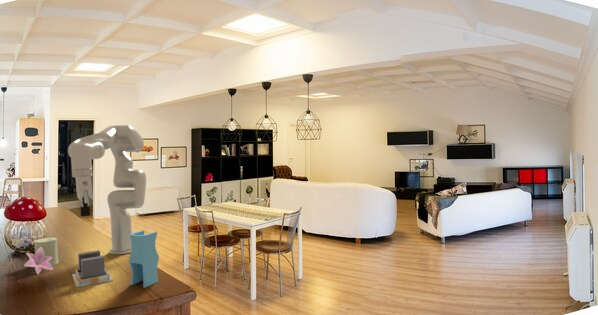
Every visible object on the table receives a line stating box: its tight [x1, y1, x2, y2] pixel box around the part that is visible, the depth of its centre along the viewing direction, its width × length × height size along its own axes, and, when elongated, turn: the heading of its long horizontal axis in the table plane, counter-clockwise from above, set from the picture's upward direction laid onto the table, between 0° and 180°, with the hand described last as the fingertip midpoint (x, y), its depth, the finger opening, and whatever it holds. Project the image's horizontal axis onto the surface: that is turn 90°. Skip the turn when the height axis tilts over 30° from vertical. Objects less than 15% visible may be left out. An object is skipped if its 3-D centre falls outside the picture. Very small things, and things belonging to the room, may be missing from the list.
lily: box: [23, 247, 54, 275], centre depth 180 cm, size 12×12×10 cm
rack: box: [71, 249, 114, 289], centre depth 169 cm, size 13×18×10 cm
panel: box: [81, 255, 105, 279], centre depth 165 cm, size 8×3×9 cm, turn 124°
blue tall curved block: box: [128, 230, 160, 289], centre depth 161 cm, size 8×8×20 cm
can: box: [33, 237, 59, 266], centre depth 191 cm, size 9×9×12 cm
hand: (85, 215), depth 173 cm, fingers closed
